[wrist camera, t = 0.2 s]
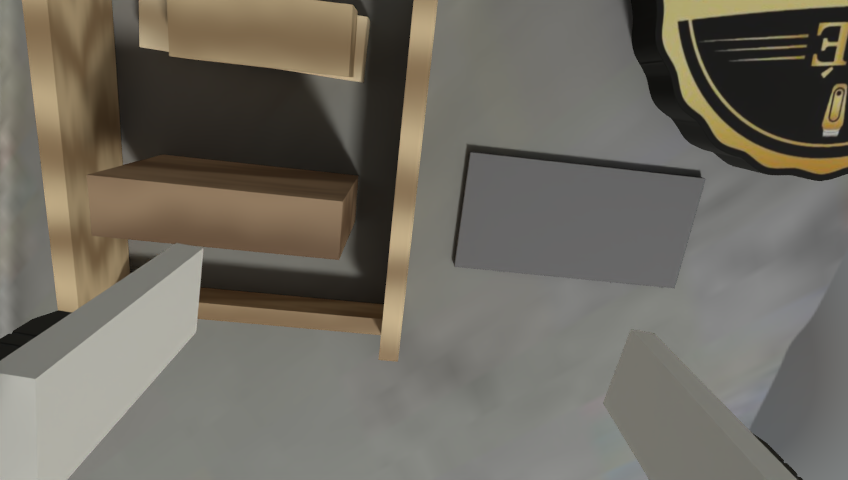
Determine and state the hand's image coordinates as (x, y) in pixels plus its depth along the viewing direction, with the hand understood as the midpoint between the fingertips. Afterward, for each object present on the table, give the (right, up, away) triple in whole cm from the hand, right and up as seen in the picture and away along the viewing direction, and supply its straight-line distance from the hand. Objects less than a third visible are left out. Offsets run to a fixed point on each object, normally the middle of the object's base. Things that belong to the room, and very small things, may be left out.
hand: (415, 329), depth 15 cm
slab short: (-11, +18, +21) cm, 29 cm away
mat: (+13, +4, +28) cm, 31 cm away
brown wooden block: (-13, +7, +26) cm, 30 cm away
